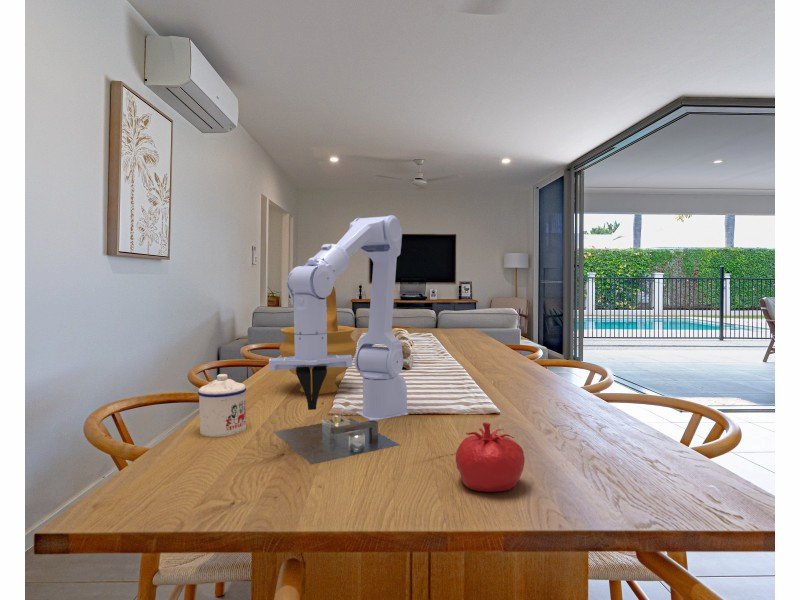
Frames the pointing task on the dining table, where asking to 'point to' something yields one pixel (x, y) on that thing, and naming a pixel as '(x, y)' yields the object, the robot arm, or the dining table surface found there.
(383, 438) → the base plate
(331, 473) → the dining table surface
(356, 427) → the bracket
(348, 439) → the link
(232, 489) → the dining table surface
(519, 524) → the dining table surface
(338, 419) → the peg
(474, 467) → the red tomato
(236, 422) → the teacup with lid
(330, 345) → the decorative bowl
